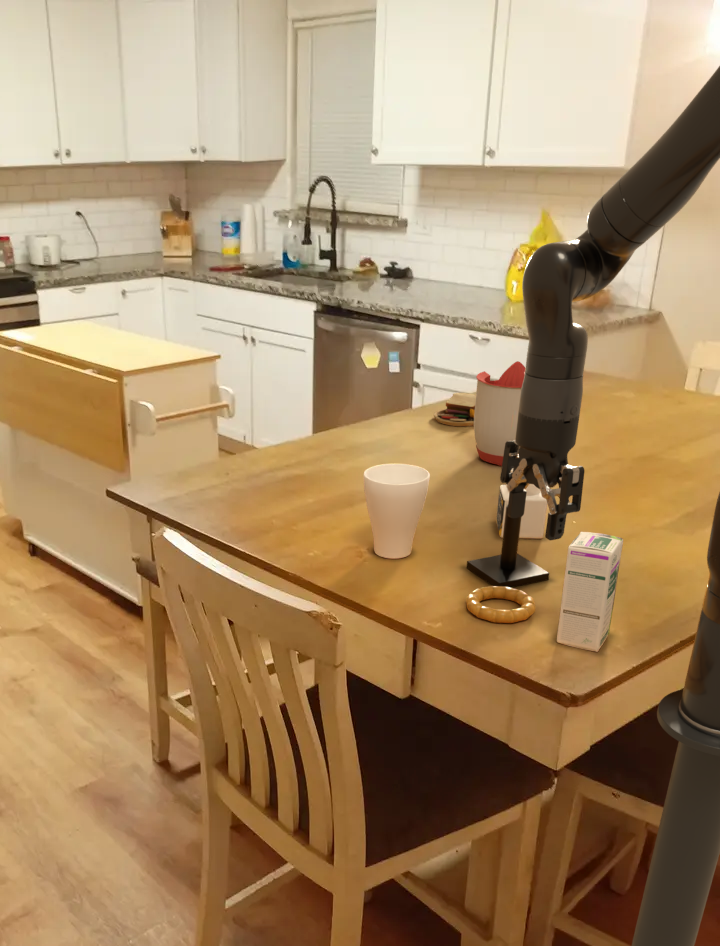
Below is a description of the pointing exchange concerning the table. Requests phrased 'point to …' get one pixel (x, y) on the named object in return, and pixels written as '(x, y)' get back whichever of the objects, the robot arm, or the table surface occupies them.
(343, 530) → the table surface
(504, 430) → the citrus juicer
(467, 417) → the toy sandwich meal
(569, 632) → the syrup box
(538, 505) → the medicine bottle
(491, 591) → the ring
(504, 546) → the holder
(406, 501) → the cup
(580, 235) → the robot arm
